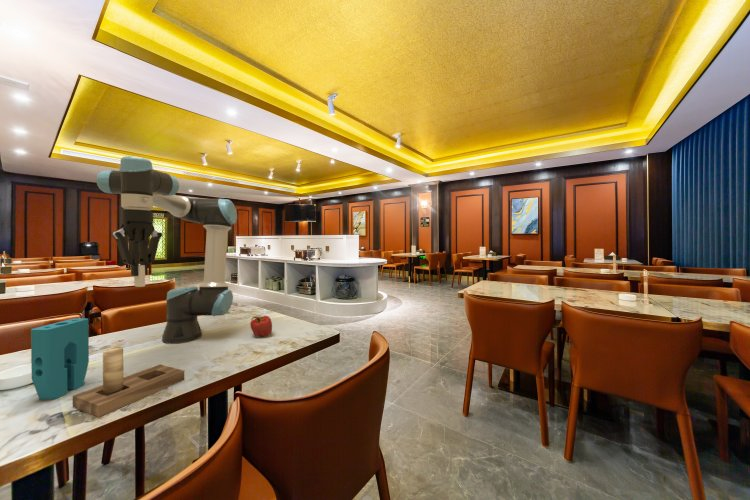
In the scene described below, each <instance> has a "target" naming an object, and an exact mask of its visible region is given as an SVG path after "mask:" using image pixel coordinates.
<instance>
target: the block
mask: <svg viewBox="0 0 750 500" xmlns="http://www.w3.org/2000/svg"><path fill="white" fill-rule="evenodd" d="M89 332H90V331H89V318H86V317H85V318H79V317H78V318H70V319H65V320H62V321H57V322H54V323H50V324H46V325H42V326H38V327H34V328H31V329H30V341H31V342H30V349H31V350H30V351H31V352H30V353H31V354H30V356H31V358H30V359H31V360H30V362H31V381H32V384H33V386H34V389H35V391H36V395H37V397H38V399H39V400H41V401H42V400H43V401H44V400H57V399H59V398H61V397H63V396H65V395H67V394H68V391H70V390H71V391H72V390H73V391H74V390H75V391H76V390H77V389H80V388H81V387H84V383H85V380H86V376H87V375H86V374H87V371H88V368H89V367H88V366H89V362H90V361H89V360H90V354H89V353H90V350H89V347H90V346H89V343H90V342H89V335H90V334H89Z"/></svg>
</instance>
